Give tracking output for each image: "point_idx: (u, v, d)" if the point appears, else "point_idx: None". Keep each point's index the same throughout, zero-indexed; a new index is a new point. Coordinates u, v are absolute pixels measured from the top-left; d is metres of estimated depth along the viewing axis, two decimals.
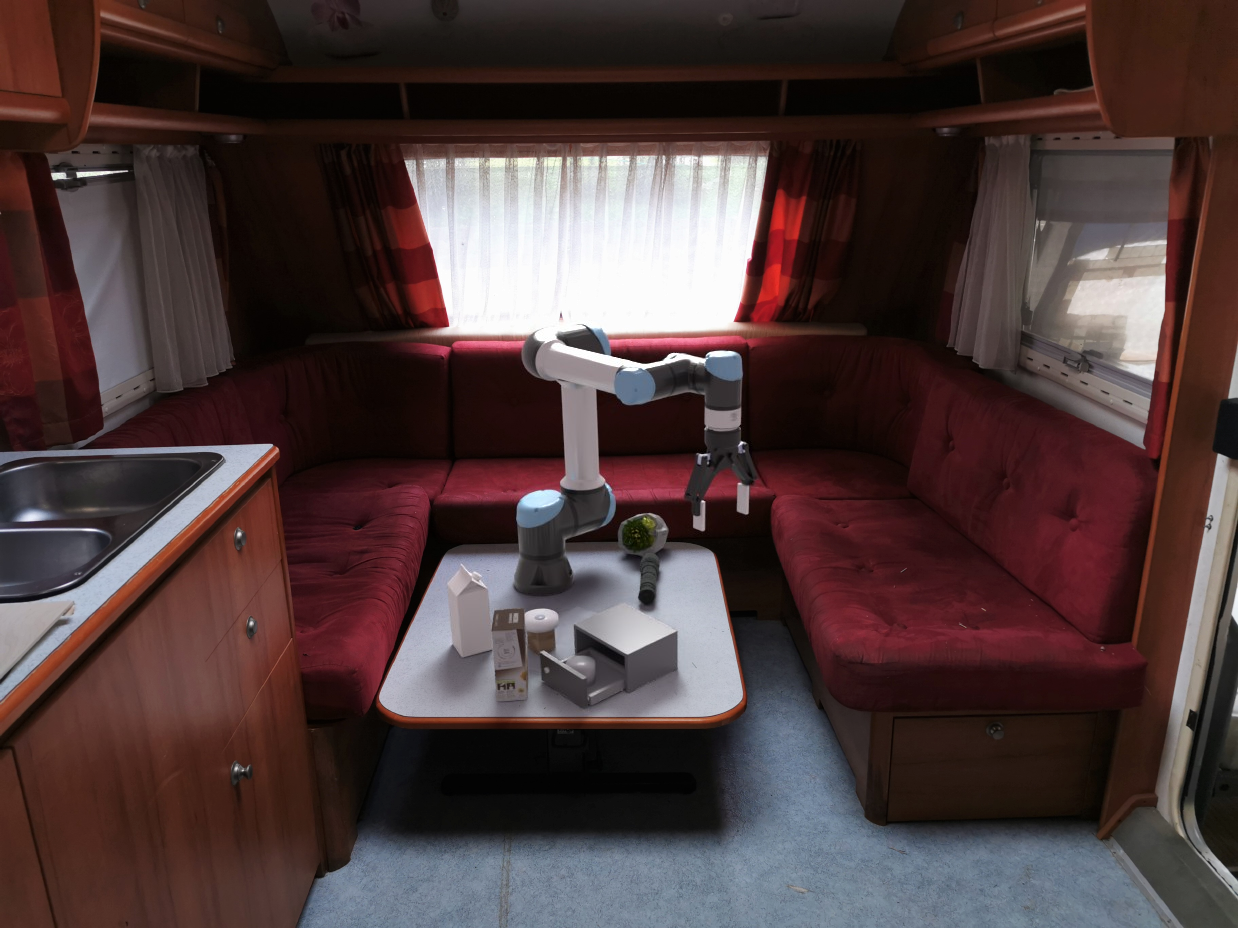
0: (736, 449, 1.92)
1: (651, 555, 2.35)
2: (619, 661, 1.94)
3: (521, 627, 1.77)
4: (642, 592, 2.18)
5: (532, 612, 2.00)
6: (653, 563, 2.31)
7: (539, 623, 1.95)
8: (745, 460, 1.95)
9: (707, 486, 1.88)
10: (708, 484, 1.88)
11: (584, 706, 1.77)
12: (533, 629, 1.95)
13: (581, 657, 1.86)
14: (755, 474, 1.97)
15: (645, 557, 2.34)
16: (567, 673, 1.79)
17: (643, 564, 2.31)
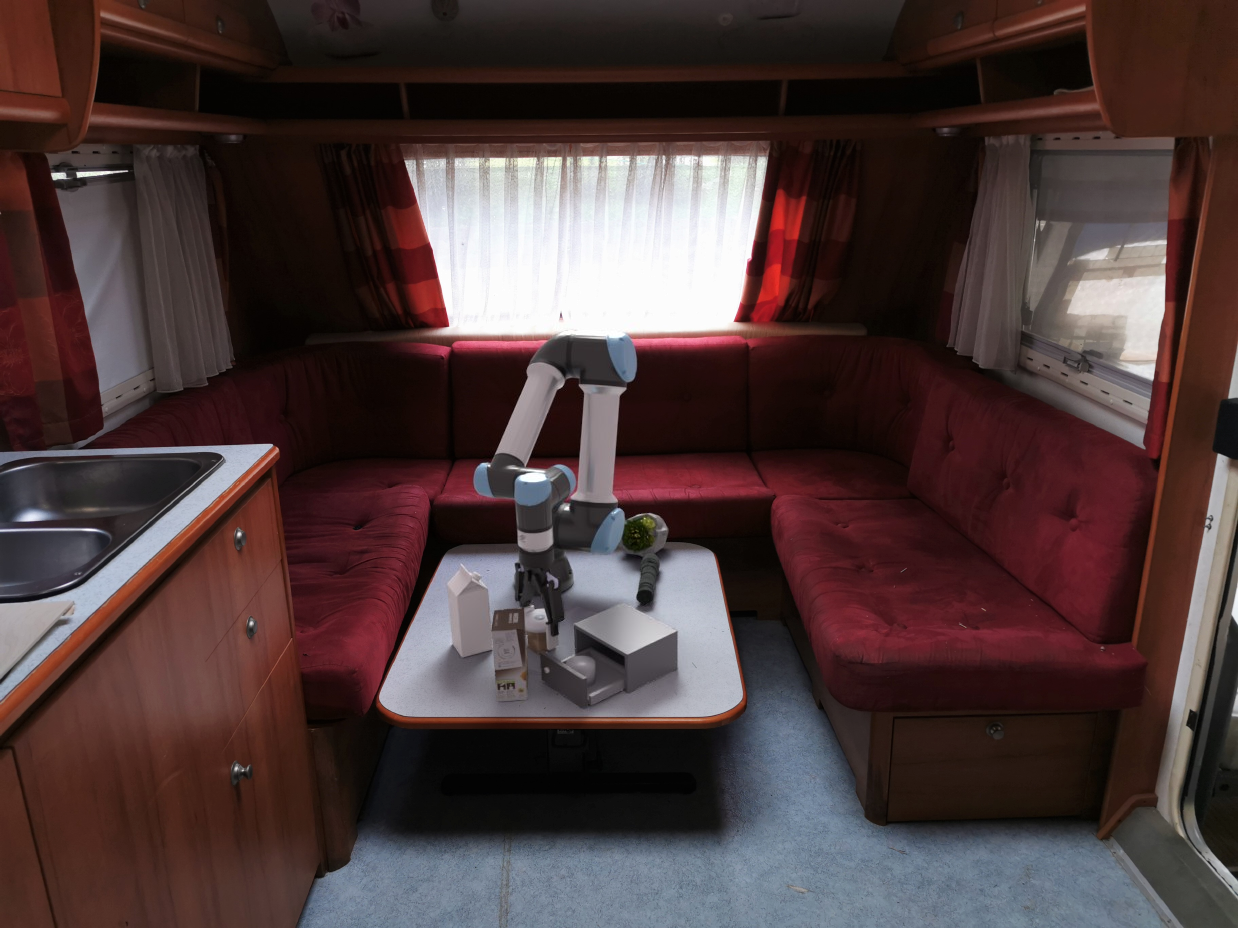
0: (542, 575, 1.91)
1: (651, 555, 2.34)
2: (619, 661, 1.94)
3: (521, 627, 1.77)
4: (640, 592, 2.18)
5: (532, 612, 2.00)
6: (653, 563, 2.31)
7: (539, 623, 1.95)
8: None
9: (523, 594, 1.99)
10: (524, 593, 1.98)
11: (584, 706, 1.77)
12: (533, 629, 1.95)
13: (581, 657, 1.86)
14: (554, 618, 1.91)
15: (645, 557, 2.34)
16: (567, 673, 1.79)
17: (643, 564, 2.31)
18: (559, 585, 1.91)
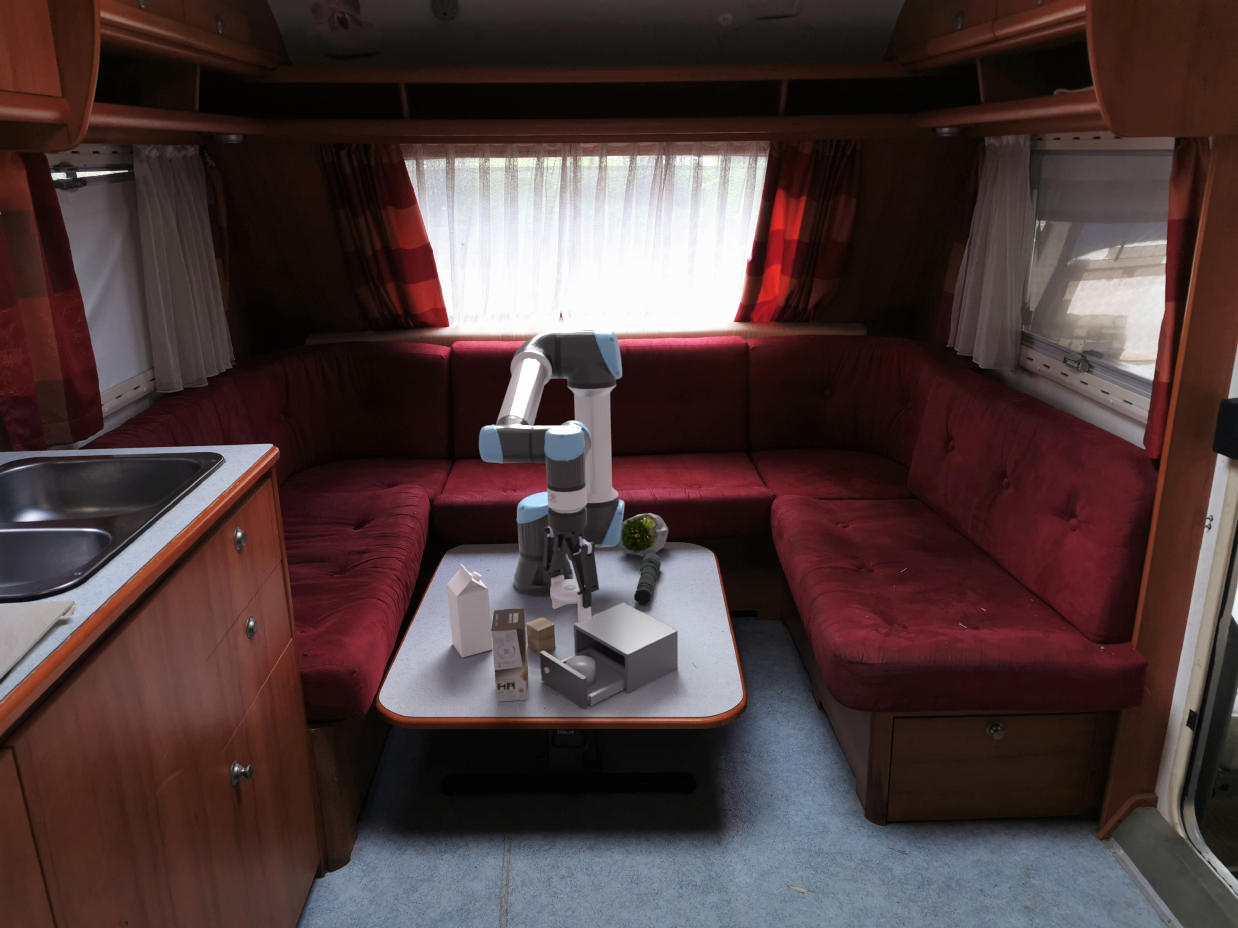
0: (573, 539, 1.73)
1: (652, 556, 2.34)
2: (619, 661, 1.94)
3: (521, 627, 1.77)
4: (638, 592, 2.18)
5: (561, 582, 1.82)
6: (653, 564, 2.31)
7: (569, 593, 1.77)
8: None
9: (553, 562, 1.81)
10: (553, 561, 1.80)
11: (584, 706, 1.77)
12: (563, 600, 1.77)
13: (581, 657, 1.86)
14: (587, 587, 1.73)
15: (646, 557, 2.34)
16: (567, 673, 1.79)
17: (643, 564, 2.31)
18: (593, 550, 1.73)
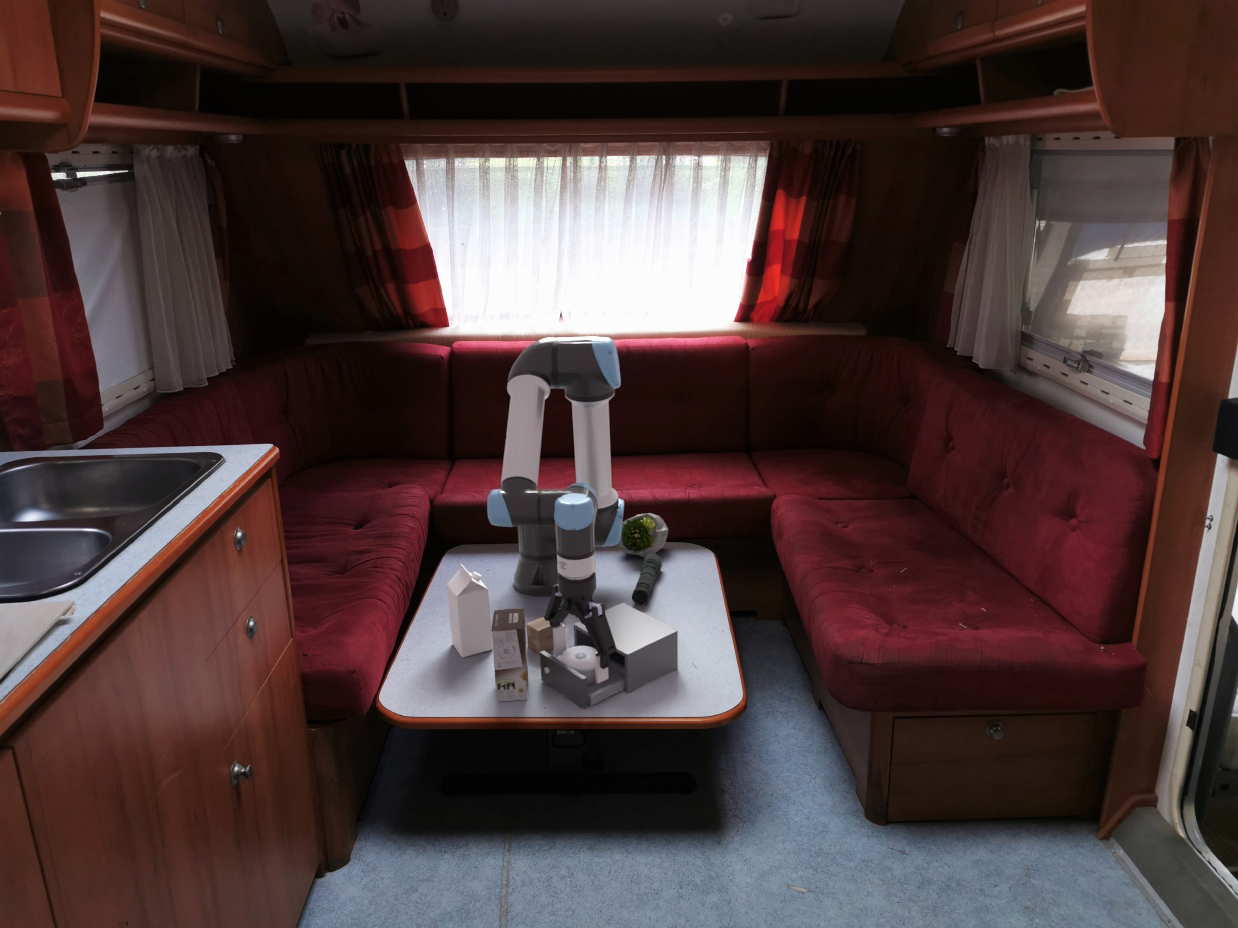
0: (583, 604, 1.76)
1: (653, 556, 2.34)
2: (619, 661, 1.94)
3: (521, 627, 1.77)
4: (636, 592, 2.18)
5: (571, 649, 1.86)
6: (653, 564, 2.31)
7: (580, 663, 1.81)
8: None
9: (557, 617, 1.84)
10: (557, 616, 1.84)
11: (584, 706, 1.77)
12: (574, 669, 1.80)
13: None
14: (604, 649, 1.74)
15: (647, 558, 2.34)
16: (567, 673, 1.79)
17: (643, 564, 2.31)
18: (603, 611, 1.75)
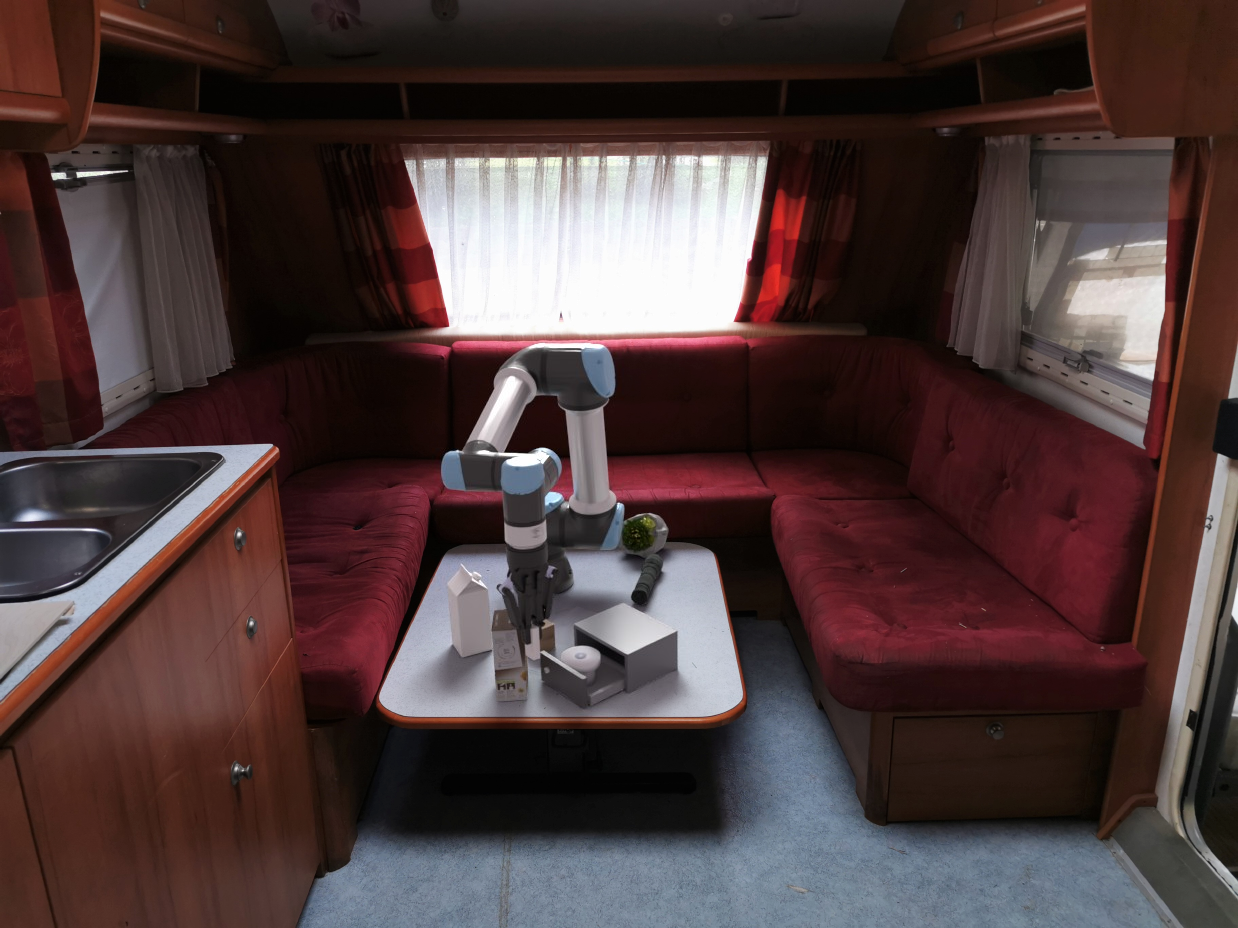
0: (545, 566, 1.67)
1: (654, 556, 2.34)
2: (619, 661, 1.94)
3: None
4: (635, 592, 2.18)
5: (572, 649, 1.86)
6: (654, 564, 2.31)
7: (580, 663, 1.81)
8: (547, 588, 1.70)
9: (528, 611, 1.67)
10: (528, 609, 1.67)
11: (584, 706, 1.77)
12: (574, 669, 1.80)
13: None
14: (549, 612, 1.70)
15: (648, 558, 2.34)
16: (567, 673, 1.79)
17: (644, 565, 2.31)
18: None
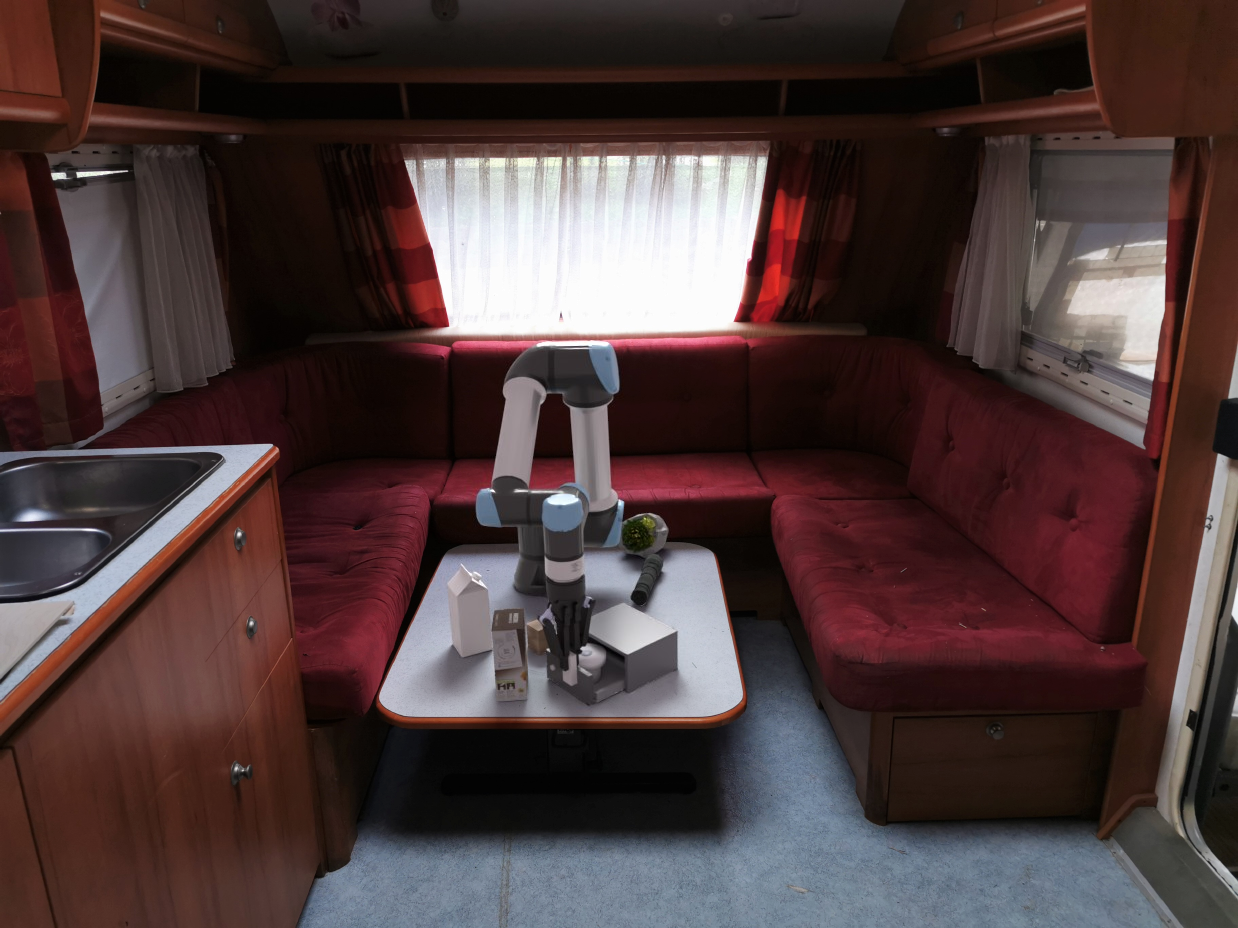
0: (583, 597, 1.76)
1: (654, 556, 2.34)
2: None
3: (521, 627, 1.77)
4: (635, 593, 2.18)
5: None
6: (654, 564, 2.30)
7: (586, 660, 1.82)
8: (584, 618, 1.78)
9: (566, 640, 1.75)
10: (566, 638, 1.75)
11: (590, 703, 1.78)
12: None
13: None
14: (585, 640, 1.79)
15: (648, 558, 2.34)
16: None
17: (644, 565, 2.31)
18: None
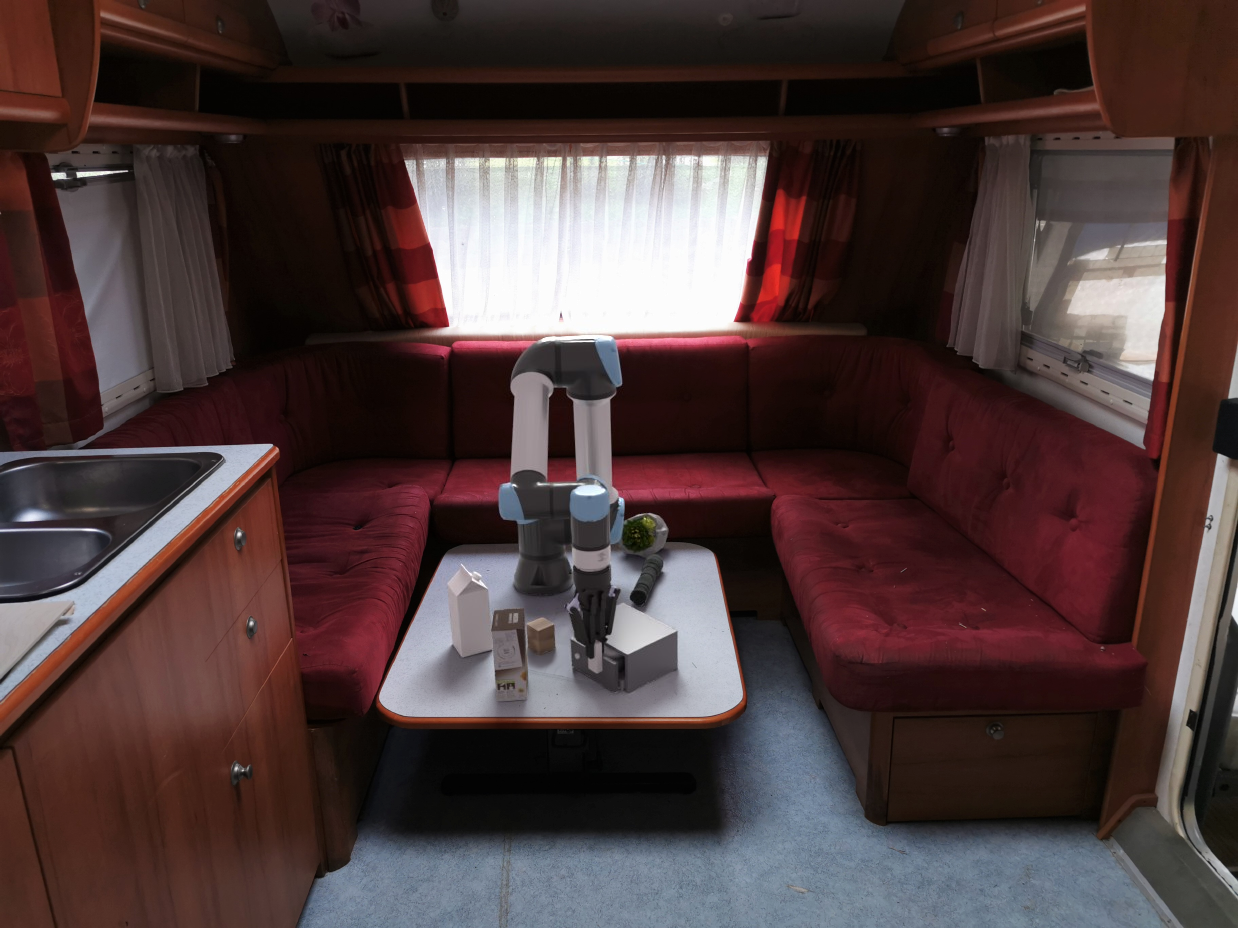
0: (608, 586, 1.80)
1: (654, 556, 2.34)
2: None
3: (521, 627, 1.77)
4: (634, 593, 2.18)
5: None
6: (654, 565, 2.30)
7: (610, 648, 1.86)
8: (609, 606, 1.82)
9: (593, 628, 1.79)
10: (592, 626, 1.79)
11: (615, 690, 1.82)
12: None
13: None
14: (610, 628, 1.83)
15: (648, 558, 2.33)
16: None
17: (644, 565, 2.31)
18: None
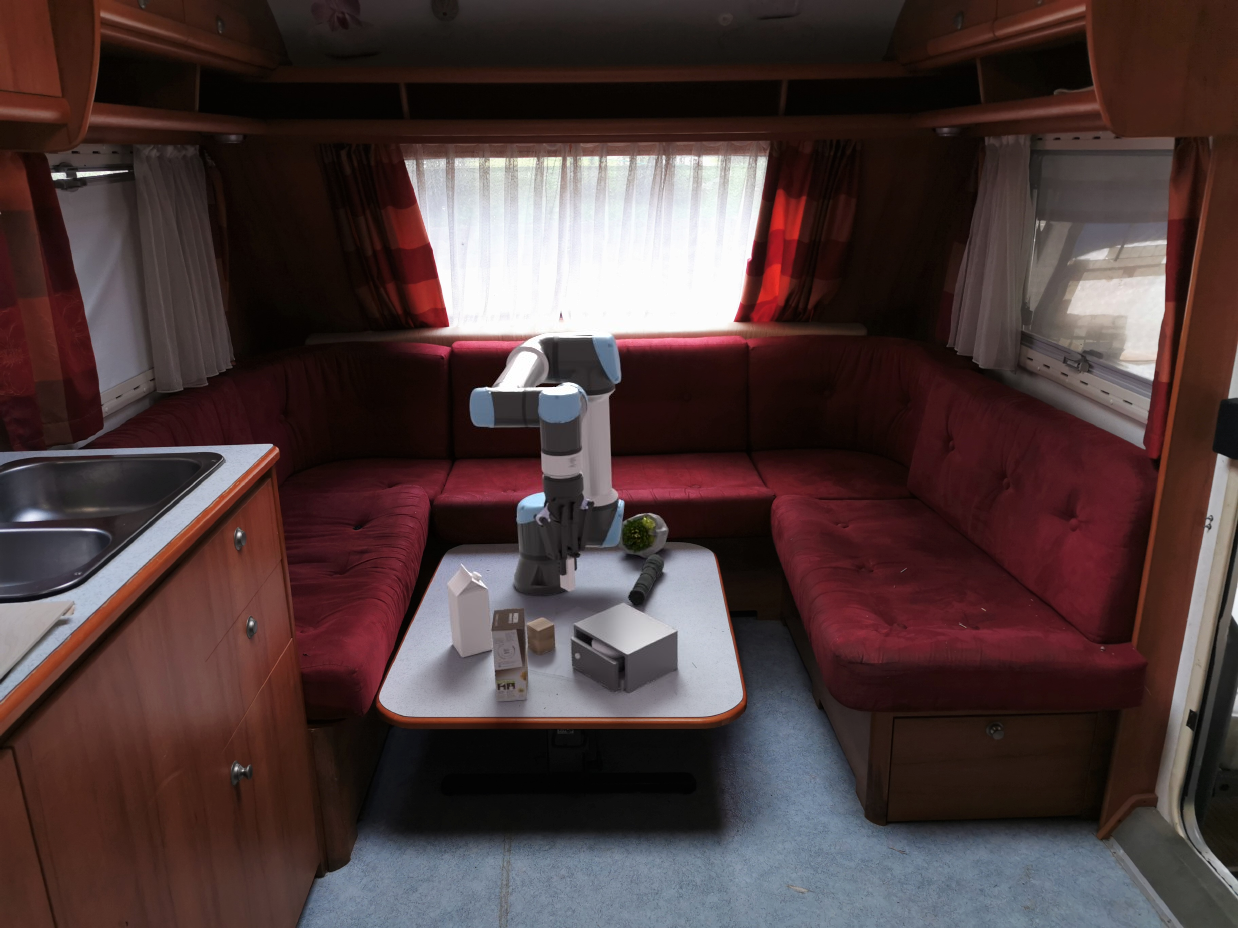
0: (581, 498, 1.69)
1: (655, 557, 2.34)
2: None
3: (521, 627, 1.77)
4: (632, 593, 2.18)
5: None
6: (654, 565, 2.30)
7: (610, 648, 1.86)
8: (582, 520, 1.72)
9: (564, 541, 1.69)
10: (564, 539, 1.69)
11: (615, 690, 1.82)
12: None
13: None
14: (584, 544, 1.72)
15: (648, 558, 2.33)
16: (598, 659, 1.84)
17: (644, 565, 2.31)
18: None
